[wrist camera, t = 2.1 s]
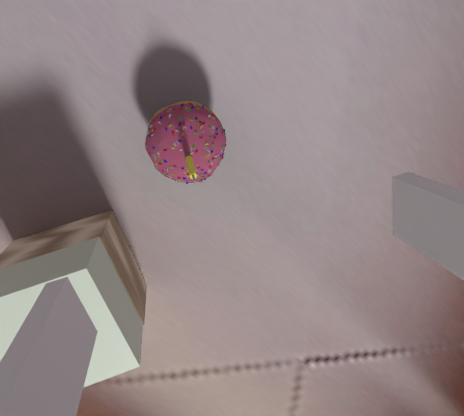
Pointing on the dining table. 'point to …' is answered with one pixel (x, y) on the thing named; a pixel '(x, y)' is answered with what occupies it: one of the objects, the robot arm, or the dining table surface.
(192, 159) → the cupcake
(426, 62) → the dining table surface
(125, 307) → the tower top
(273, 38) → the dining table surface
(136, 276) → the tower base
